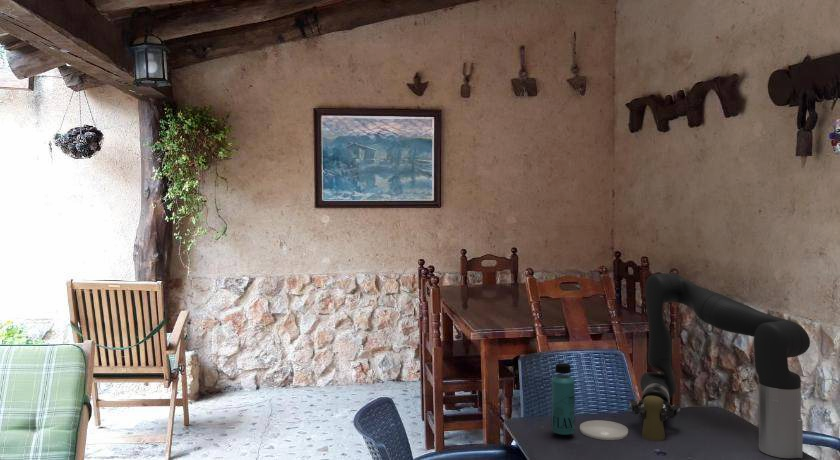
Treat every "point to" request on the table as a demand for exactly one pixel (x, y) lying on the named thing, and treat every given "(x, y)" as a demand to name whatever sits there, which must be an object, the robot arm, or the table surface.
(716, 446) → the table surface
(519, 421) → the table surface
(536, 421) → the table surface
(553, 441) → the table surface
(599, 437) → the saucer
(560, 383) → the beverage bottle
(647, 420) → the cork
